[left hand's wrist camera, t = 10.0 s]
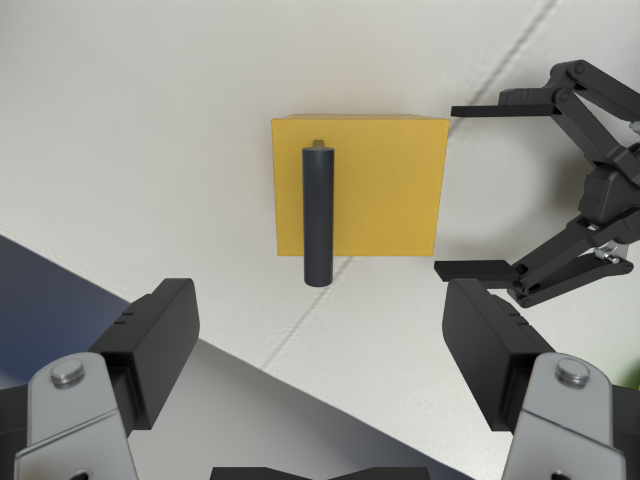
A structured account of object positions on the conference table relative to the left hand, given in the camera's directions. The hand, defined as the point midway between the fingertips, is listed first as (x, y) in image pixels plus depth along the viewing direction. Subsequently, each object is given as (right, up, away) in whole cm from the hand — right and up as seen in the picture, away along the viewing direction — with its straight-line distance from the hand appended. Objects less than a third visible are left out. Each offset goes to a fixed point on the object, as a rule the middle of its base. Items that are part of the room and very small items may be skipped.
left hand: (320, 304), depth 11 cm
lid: (+3, +6, +15) cm, 17 cm away
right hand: (+11, +6, +18) cm, 22 cm away
